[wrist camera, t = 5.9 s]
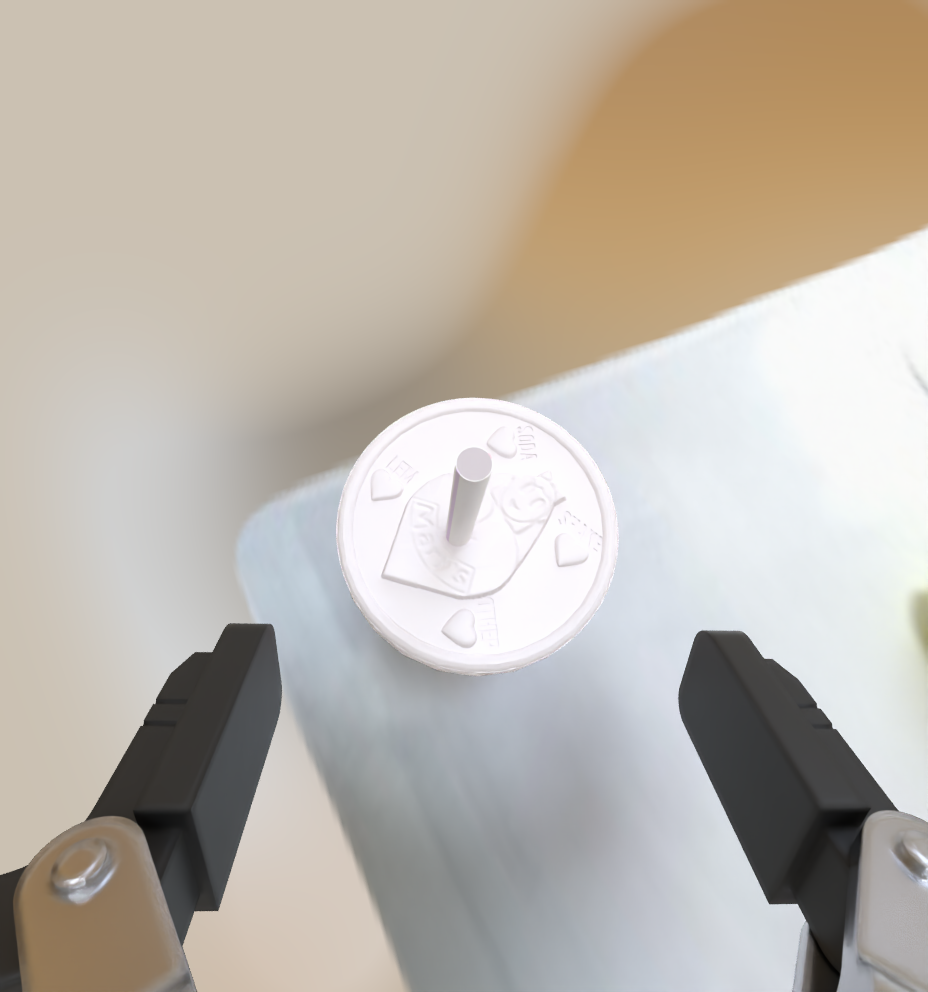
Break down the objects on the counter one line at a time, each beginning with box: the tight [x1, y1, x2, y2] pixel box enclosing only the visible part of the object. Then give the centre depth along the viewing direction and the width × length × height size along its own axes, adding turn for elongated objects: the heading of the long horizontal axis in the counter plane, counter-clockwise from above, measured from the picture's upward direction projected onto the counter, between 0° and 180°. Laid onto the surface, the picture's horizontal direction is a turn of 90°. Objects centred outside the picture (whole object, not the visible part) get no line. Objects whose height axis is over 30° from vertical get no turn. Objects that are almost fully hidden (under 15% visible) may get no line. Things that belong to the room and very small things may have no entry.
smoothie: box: [336, 398, 619, 676], centre depth 15 cm, size 6×6×14 cm
